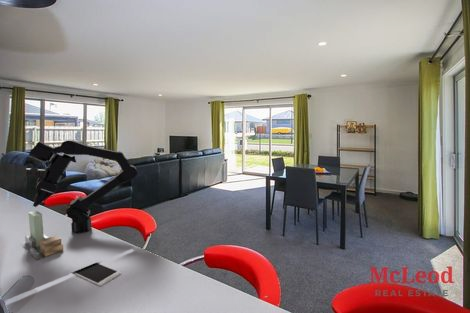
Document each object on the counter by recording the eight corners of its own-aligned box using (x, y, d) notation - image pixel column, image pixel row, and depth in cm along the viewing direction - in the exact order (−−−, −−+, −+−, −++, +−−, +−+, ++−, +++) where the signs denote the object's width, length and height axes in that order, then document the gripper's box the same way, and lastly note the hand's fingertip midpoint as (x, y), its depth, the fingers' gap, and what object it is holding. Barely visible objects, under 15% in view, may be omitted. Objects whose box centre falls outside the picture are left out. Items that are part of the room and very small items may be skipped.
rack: (46, 239, 99) (46, 229, 98) (64, 253, 88) (63, 243, 88) (21, 246, 92) (20, 236, 92) (36, 263, 82) (35, 251, 81)
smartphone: (90, 262, 84) (90, 259, 84) (121, 274, 77) (121, 272, 77) (68, 273, 78) (68, 270, 77) (100, 287, 71) (100, 284, 71)
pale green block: (39, 240, 96) (36, 210, 94) (44, 244, 92) (42, 214, 91) (31, 242, 94) (28, 212, 92) (36, 247, 90) (33, 215, 89)
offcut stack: (58, 245, 92) (57, 234, 91) (63, 250, 89) (62, 238, 88) (40, 251, 87) (39, 240, 87) (44, 256, 84) (44, 244, 84)
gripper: (34, 157, 102) (11, 192, 98) (33, 160, 87) (6, 201, 83) (63, 169, 108) (43, 202, 104) (67, 173, 93) (43, 211, 89)
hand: (34, 204), depth 95 cm, fingers open, 9 cm apart
